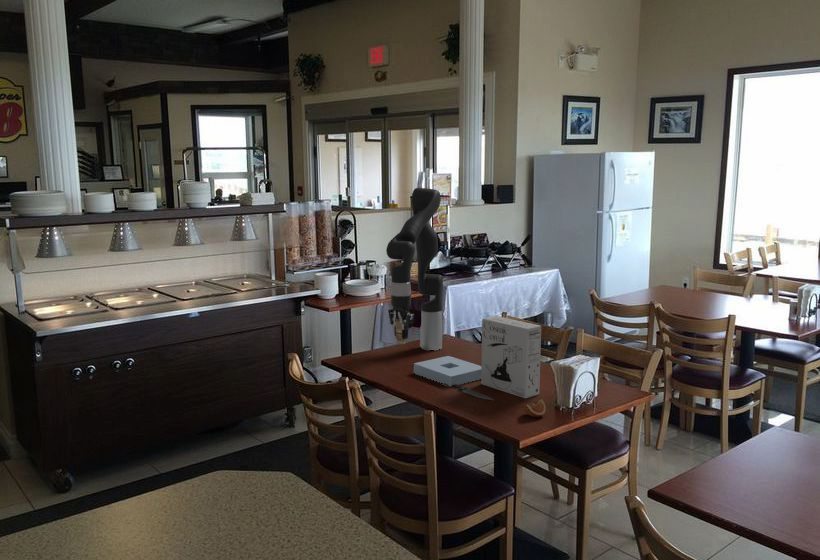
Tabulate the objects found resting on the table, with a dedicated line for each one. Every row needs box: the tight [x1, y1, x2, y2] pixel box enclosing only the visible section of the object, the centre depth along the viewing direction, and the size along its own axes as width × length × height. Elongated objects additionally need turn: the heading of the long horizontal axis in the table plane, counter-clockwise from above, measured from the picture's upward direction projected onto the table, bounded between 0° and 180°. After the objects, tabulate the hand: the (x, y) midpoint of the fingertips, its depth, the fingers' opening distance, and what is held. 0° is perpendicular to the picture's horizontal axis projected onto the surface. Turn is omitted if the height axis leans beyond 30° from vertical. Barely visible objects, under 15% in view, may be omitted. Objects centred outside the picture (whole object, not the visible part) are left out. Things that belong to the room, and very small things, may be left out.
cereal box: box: [480, 315, 542, 399], centre depth 250 cm, size 22×8×25 cm, turn 40°
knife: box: [442, 383, 494, 401], centre depth 249 cm, size 26×1×5 cm
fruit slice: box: [521, 398, 547, 418], centre depth 224 cm, size 8×7×5 cm
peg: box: [395, 319, 406, 345], centre depth 265 cm, size 4×4×9 cm
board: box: [413, 355, 481, 387], centre depth 268 cm, size 22×18×4 cm
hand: (401, 337), depth 266 cm, fingers closed on peg, 4 cm apart
